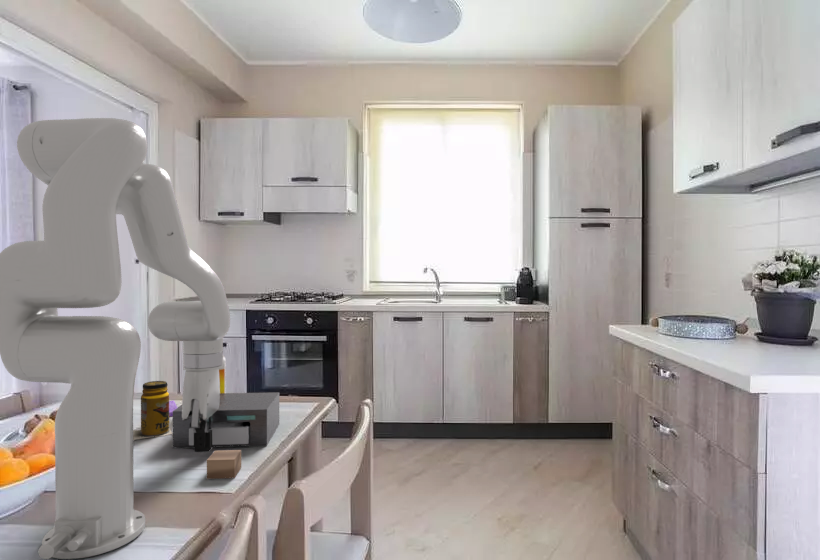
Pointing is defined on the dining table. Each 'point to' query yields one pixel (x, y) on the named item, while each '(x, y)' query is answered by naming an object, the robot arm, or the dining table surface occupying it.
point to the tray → (227, 435)
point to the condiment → (154, 411)
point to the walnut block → (224, 464)
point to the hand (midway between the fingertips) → (203, 450)
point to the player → (237, 417)
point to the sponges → (172, 407)
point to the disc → (227, 424)
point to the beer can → (223, 377)
